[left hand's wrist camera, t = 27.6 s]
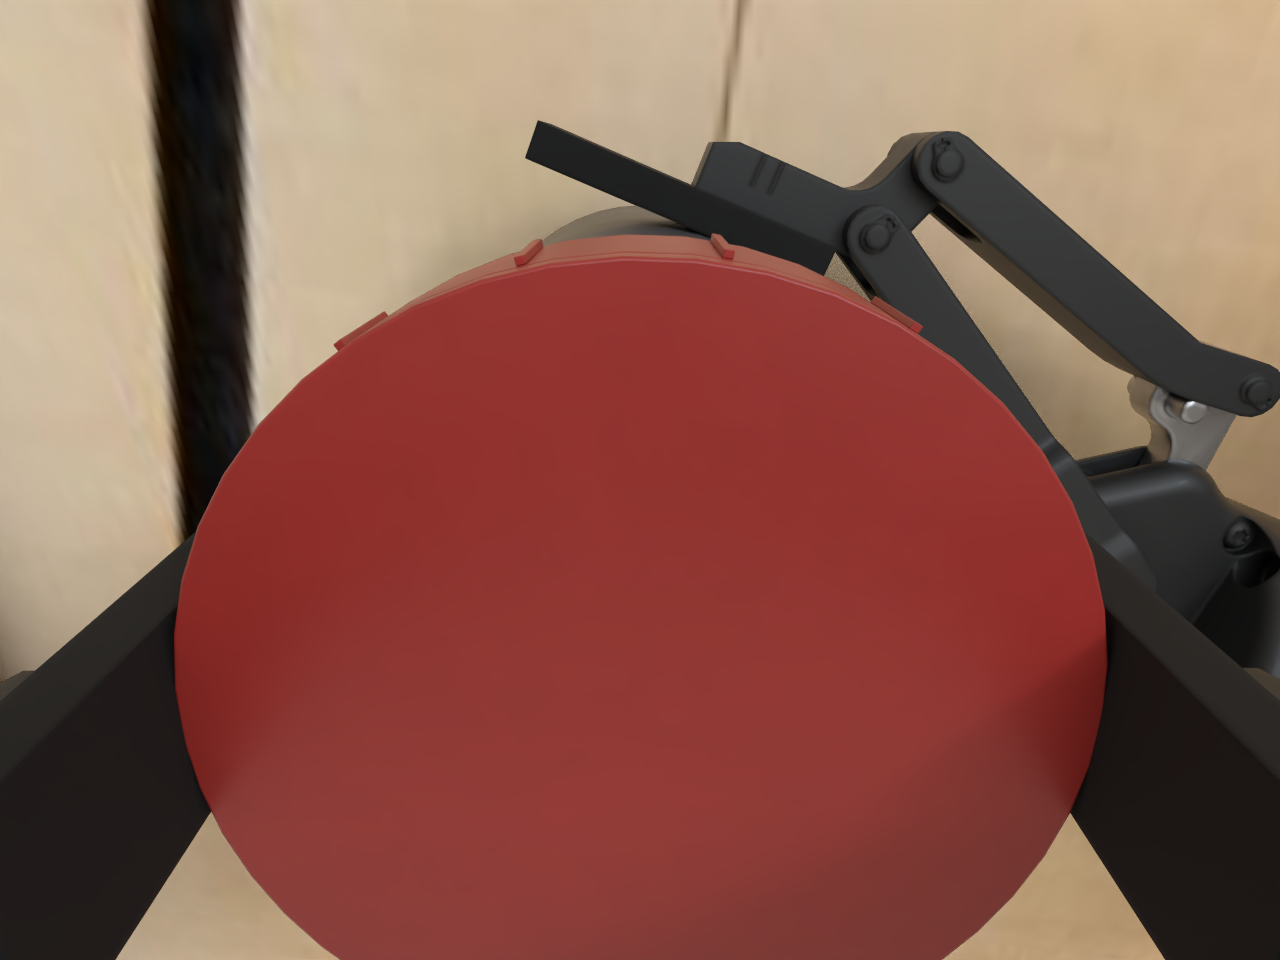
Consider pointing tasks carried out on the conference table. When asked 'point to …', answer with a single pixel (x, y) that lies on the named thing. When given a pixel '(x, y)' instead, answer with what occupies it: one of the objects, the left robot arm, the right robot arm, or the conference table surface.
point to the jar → (621, 226)
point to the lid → (640, 624)
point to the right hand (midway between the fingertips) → (463, 359)
